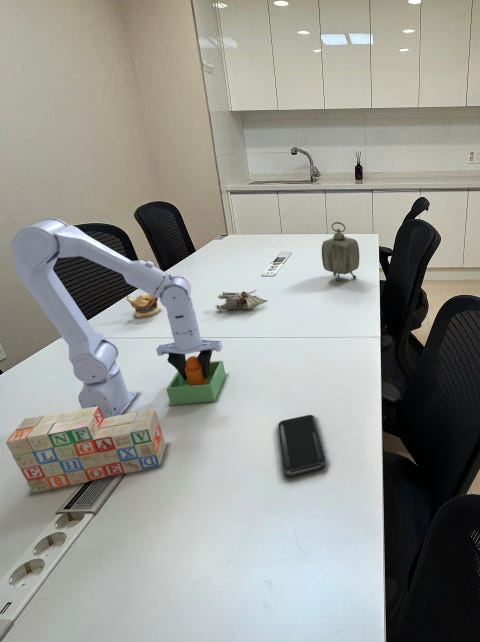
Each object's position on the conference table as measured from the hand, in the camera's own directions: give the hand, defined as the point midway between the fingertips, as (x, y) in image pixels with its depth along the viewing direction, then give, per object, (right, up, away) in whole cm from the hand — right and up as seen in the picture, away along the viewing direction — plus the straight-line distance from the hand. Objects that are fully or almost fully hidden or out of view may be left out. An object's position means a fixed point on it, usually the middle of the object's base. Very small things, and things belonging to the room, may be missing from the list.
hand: (196, 376), depth 96 cm
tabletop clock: (+30, +29, +74) cm, 85 cm away
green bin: (0, -3, +1) cm, 4 cm away
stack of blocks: (-8, -14, -21) cm, 27 cm away
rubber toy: (0, -1, +1) cm, 2 cm away
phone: (+29, -11, -17) cm, 36 cm away
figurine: (-4, +17, +48) cm, 51 cm away
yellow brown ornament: (-39, +15, +45) cm, 61 cm away
